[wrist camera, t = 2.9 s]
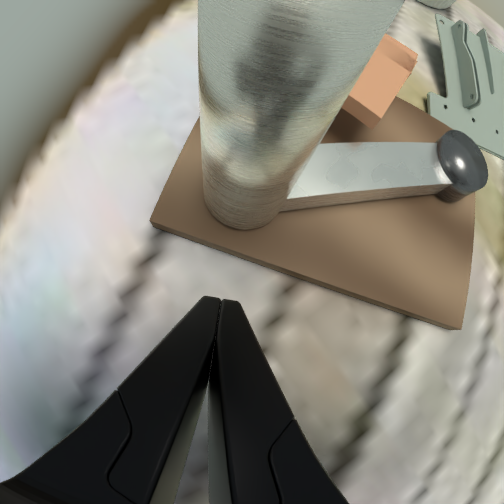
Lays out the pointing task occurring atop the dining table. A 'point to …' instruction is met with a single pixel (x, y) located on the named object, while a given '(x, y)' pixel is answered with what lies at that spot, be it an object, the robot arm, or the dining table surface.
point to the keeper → (380, 81)
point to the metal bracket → (471, 86)
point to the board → (348, 229)
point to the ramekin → (438, 3)
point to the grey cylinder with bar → (304, 113)
